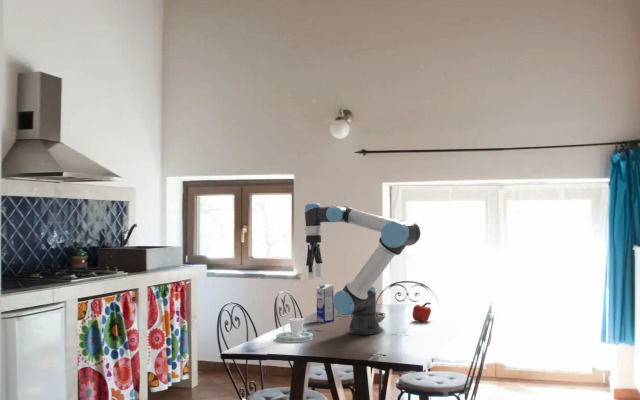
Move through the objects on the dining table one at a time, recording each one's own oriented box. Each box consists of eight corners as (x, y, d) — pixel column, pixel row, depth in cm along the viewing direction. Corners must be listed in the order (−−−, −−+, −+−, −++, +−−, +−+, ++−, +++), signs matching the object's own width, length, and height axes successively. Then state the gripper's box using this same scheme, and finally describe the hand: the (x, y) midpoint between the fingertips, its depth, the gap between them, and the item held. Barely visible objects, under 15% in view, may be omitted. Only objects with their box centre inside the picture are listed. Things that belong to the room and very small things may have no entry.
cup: (304, 337, 302) (303, 320, 302) (282, 338, 302) (282, 320, 302) (304, 334, 309) (303, 317, 310) (283, 335, 309) (282, 318, 309)
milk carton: (334, 321, 351) (333, 284, 352) (324, 322, 347) (323, 285, 348) (326, 319, 357) (326, 283, 358) (316, 321, 353) (316, 284, 354)
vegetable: (427, 319, 353) (426, 301, 353) (436, 322, 343) (435, 303, 343) (408, 320, 349) (408, 302, 350) (417, 323, 340) (417, 304, 340)
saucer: (318, 336, 308) (318, 332, 308) (303, 343, 292) (303, 339, 292) (286, 334, 314) (286, 330, 314) (270, 341, 299) (270, 337, 299)
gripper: (312, 234, 333) (314, 275, 332) (298, 235, 309) (300, 280, 308) (326, 233, 331) (328, 275, 330) (314, 235, 307) (315, 280, 306)
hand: (315, 278), depth 319 cm, fingers open, 13 cm apart
